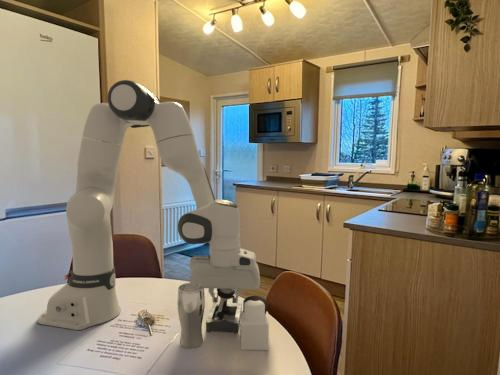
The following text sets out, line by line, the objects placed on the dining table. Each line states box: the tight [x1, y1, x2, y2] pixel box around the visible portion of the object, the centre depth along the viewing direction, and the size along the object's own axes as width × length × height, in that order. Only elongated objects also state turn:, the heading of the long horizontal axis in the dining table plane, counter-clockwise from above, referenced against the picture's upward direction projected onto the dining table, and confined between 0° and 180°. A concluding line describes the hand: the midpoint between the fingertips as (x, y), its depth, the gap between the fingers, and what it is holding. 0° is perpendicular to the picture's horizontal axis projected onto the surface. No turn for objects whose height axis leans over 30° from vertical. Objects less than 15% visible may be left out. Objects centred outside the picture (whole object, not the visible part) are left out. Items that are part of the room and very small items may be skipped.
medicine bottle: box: [239, 295, 270, 352], centre depth 88 cm, size 7×7×12 cm
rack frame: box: [205, 302, 243, 335], centre depth 99 cm, size 9×12×3 cm
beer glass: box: [176, 282, 206, 350], centre depth 88 cm, size 7×7×15 cm
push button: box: [214, 289, 236, 320], centre depth 99 cm, size 7×5×10 cm
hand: (225, 302), depth 99 cm, fingers closed on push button, 4 cm apart
